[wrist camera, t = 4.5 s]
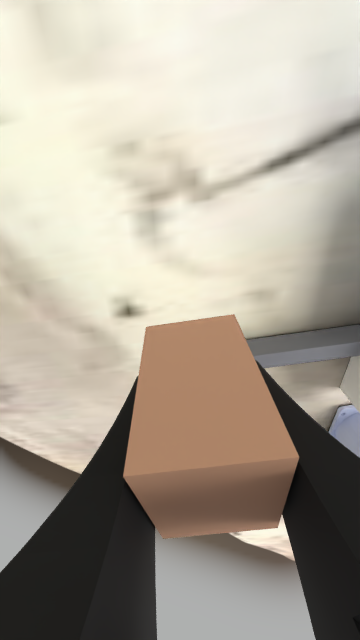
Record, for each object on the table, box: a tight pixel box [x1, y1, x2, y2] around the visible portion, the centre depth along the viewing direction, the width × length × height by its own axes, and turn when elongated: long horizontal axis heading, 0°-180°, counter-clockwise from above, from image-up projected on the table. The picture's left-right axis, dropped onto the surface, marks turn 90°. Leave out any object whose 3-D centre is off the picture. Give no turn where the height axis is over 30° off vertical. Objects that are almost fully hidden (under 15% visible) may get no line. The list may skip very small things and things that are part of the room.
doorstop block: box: [123, 314, 299, 539], centre depth 9 cm, size 5×4×6 cm
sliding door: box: [246, 324, 360, 368], centre depth 15 cm, size 10×14×4 cm
